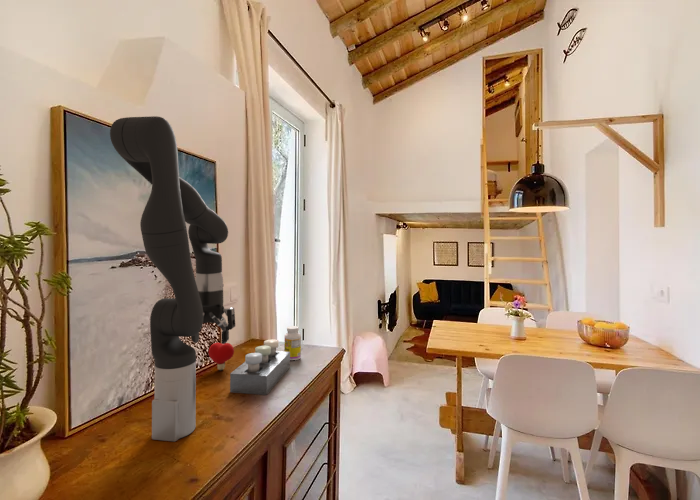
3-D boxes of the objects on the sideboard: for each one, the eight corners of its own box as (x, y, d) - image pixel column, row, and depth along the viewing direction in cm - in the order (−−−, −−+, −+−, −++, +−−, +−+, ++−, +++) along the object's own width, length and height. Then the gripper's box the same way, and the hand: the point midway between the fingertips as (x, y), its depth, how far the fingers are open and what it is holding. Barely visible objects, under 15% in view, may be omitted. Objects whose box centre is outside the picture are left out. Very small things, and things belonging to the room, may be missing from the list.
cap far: (275, 357, 125) (275, 343, 125) (261, 356, 126) (261, 343, 126) (280, 352, 130) (280, 339, 130) (266, 352, 131) (267, 339, 131)
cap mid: (267, 365, 117) (267, 350, 117) (252, 364, 118) (252, 349, 118) (272, 360, 122) (272, 346, 122) (258, 359, 123) (258, 345, 123)
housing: (266, 395, 108) (266, 375, 108) (230, 392, 109) (230, 373, 109) (289, 367, 131) (290, 351, 131) (259, 365, 133) (259, 350, 133)
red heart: (237, 367, 131) (237, 341, 130) (229, 374, 124) (229, 346, 123) (213, 366, 132) (213, 340, 131) (204, 373, 125) (204, 345, 124)
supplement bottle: (282, 356, 143) (282, 326, 143) (298, 354, 146) (298, 324, 146) (286, 362, 137) (287, 330, 137) (302, 360, 140) (303, 328, 140)
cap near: (258, 374, 109) (258, 358, 109) (242, 373, 110) (242, 357, 110) (264, 368, 115) (264, 353, 114) (249, 367, 115) (249, 352, 115)
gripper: (178, 289, 97) (179, 346, 98) (228, 291, 96) (228, 347, 97) (192, 285, 105) (193, 337, 106) (238, 286, 104) (238, 339, 105)
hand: (210, 342), depth 102 cm, fingers open, 8 cm apart
